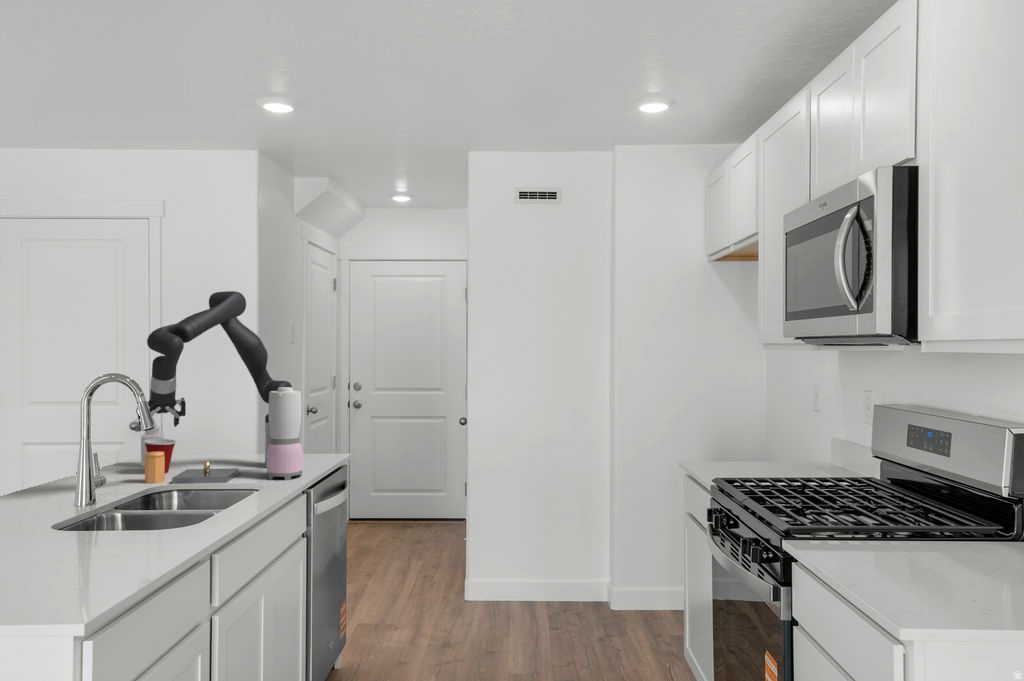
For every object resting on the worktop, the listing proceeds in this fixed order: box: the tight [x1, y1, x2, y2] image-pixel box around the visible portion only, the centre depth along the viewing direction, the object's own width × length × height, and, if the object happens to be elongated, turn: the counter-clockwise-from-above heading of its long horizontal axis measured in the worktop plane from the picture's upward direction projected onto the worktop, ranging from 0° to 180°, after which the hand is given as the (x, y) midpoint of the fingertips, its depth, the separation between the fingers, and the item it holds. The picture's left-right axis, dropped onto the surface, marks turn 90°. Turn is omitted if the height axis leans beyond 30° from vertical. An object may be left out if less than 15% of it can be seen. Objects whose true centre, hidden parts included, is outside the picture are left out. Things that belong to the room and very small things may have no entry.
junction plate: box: [171, 460, 240, 485], centre depth 252 cm, size 16×18×6 cm
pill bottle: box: [140, 425, 165, 468], centre depth 276 cm, size 8×8×15 cm
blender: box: [266, 386, 303, 481], centre depth 257 cm, size 16×12×32 cm
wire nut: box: [144, 451, 166, 484], centre depth 246 cm, size 6×6×10 cm
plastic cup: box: [144, 438, 178, 474], centre depth 262 cm, size 11×11×12 cm
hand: (161, 426), depth 240 cm, fingers open, 8 cm apart
